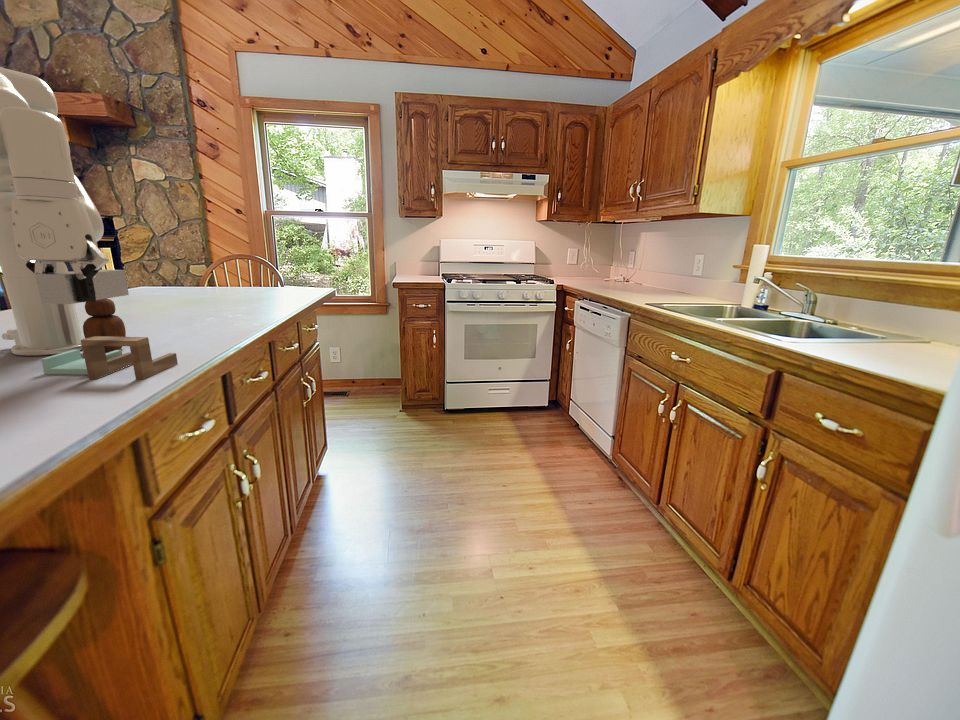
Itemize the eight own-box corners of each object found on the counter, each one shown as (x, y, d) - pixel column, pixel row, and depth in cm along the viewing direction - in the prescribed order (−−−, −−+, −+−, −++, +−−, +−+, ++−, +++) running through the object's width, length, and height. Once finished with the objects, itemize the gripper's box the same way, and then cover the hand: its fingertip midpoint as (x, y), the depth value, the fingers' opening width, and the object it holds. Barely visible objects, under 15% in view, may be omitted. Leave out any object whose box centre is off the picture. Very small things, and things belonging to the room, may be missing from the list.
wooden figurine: (103, 354, 89) (88, 282, 85) (81, 352, 90) (65, 281, 86) (135, 347, 96) (122, 280, 92) (113, 345, 97) (100, 278, 93)
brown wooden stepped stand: (88, 378, 75) (80, 339, 73) (129, 363, 84) (123, 328, 82) (143, 379, 75) (136, 340, 73) (177, 363, 85) (172, 329, 83)
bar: (41, 303, 73) (35, 274, 72) (104, 294, 87) (99, 269, 85) (70, 304, 74) (64, 274, 72) (128, 294, 87) (124, 270, 86)
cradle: (44, 373, 76) (40, 358, 75) (77, 363, 83) (74, 349, 82) (96, 374, 77) (92, 359, 76) (124, 363, 84) (121, 350, 83)
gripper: (-32, 187, 67) (-1, 302, 72) (83, 192, 69) (105, 304, 73) (15, 193, 75) (40, 297, 79) (117, 197, 76) (136, 299, 81)
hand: (71, 299), depth 76 cm, fingers closed on bar, 4 cm apart
